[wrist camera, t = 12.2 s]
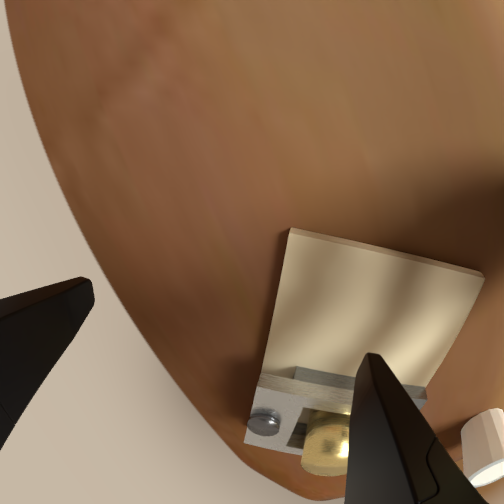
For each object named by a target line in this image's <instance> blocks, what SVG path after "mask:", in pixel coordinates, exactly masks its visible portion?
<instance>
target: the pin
mask: <svg viewBox="0 0 504 504" xmlns="http://www.w3.org/2000/svg"><path fill="white" fill-rule="evenodd" d="M349 422H350V415H347V414H340V413H334V412H328V411H322V410H317V409H311V408H310V411H309V418H308V424H307V431H306V437H305V443H304V449H303V455H302V460H301V466H302V468H303V469H304V470H306V471H307V472H309V473H312V474H315V475H320V476H338V475H343V474H347V464H348V444H349Z"/></svg>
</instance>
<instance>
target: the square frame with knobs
mask: <svg viewBox="0 0 504 504" xmlns="http://www.w3.org/2000/svg"><path fill="white" fill-rule="evenodd" d="M354 385H355V377H352V376H346V375H340V374H335V373H329V372H324V371H319V370H314V369H309V368H304V367H299V366H296V369H295V372H294V375H293V378H292V379H289V378H285V377H280V376H276V375H272V374H267V373H263V372H261V374H260V378H259V381H258V384H257V388H256V392H255V397H254V401H253V406H252V410H251V414H250V417H249V420H248V423H247V432H246V436H245V440H244V443H246V444H250V445H255V446H259V447H263V448H267V449H272V450H277V451H282V452H287V453H292V454H297V455H303V449H304V443H305V437H306V431H307V424H305V423H300V422H297V421H298V418H299V416H300V414H301V411H302V409H303V407H306V408H311V409H317V410H322V411H328V412H334V413H340V414H347V415H350V414H351V407H352V400H353V393H354ZM402 386H403V387H404V389H405V390H406V391H407V393H408V394H409V396H410V397H411V399H412V400H413V402H414V403H415V405H416V406H417V407H418V409H419V410H420V409H421V408H422V406H423V405H424V404H425V402H426V401H427V395H426V390H425V387H423V386H414V385H406V384H402Z"/></svg>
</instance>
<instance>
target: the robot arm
mask: <svg viewBox="0 0 504 504" xmlns="http://www.w3.org/2000/svg"><path fill="white" fill-rule="evenodd" d="M94 302H95V298H94V293H93V286H92V282H91V280H90V279H87V278H84V277H77V278H73V279H70V280H66V281H63V282H59V283H55V284H52V285H49V286H45V287H41V288H38V289H34V290H31V291H27V292H24V293H20V294H17V295H13V296H10V297H7V298H3V299H0V450H1V448H2V447H3V445H4V443H5V441H6V440H7V438H8V436H9V435H10V433H11V431H12V430H13V428H14V426H15V424H16V423H17V421H18V420H19V418H20V416H21V415H22V413H23V412H24V410H25V409H26V407H27V405H28V404H29V402H30V401H31V399H32V398H33V396H34V395H35V393H36V392H37V390H38V388H39V387H40V385H41V384H42V383H43V381H44V380H45V378H46V377H47V375H48V374H49V372H50V371H51V369H52V368H53V367H54V365H55V364H56V362H57V361H58V360H59V358H60V357H61V355H62V354H63V353H64V351H65V350H66V348H67V347H68V346H69V344H70V343H71V342H72V340H73V339H74V337H75V335H76V334H77V332H78V331H79V329H80V327H81V325H82V324H83V322H84V320H85V319H86V317H87V316H88V314H89V312H90V311H91V309H92V307H93V306H94ZM344 504H489V503H487V502H486V501H485V500H484V499H483V497H482V496H481V495H480V494H479V493H478V491H477V490H476V489H475V487H474V486H473V485H472V484H471V482H470V481H469V480H468V479H467V477H466V476H465V475H464V474H463V472H462V471H461V470H460V468H459V467H458V466H457V465H456V463H455V462H454V461H453V459H452V458H451V457H450V455H449V454H448V452H447V451H446V449H445V448H444V446H443V445H442V443H441V442H440V440H439V439H438V437H436V434H435V433H434V431H433V430H432V428H431V427H430V425H429V424H428V422H427V421H426V419H425V418H424V416H423V415H422V413H421V412H420V410H419V409H418V407H417V406H416V405H415V403H414V402H413V400H412V399H411V397H410V396H409V394H408V393H407V391H406V390H405V389H404V387H403V386H402V384H401V383H400V381H399V380H398V379H397V377H396V376H395V374H394V373H393V371H392V370H391V369H390V367H389V366H388V364H387V363H386V362H385V360H384V359H383V357H382V356H381V355H380V354H377V353H371V352H368V353H366V354H365V356H364V358H363V360H362V362H361V364H360V366H359V368H358V371H357V373H356V377H355V385H354V393H353V400H352V407H351V414H350V422H349V444H348V464H347V479H346V491H345V502H344Z"/></svg>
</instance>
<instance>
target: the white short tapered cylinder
mask: <svg viewBox="0 0 504 504" xmlns="http://www.w3.org/2000/svg"><path fill="white" fill-rule="evenodd" d="M461 440H462V452H463V465H464V466H463V468H464V475H465V476H466V477H467V479H468V480H469V481H470V482H471V484H472V485H473V486H474V487H475V488H476V487H480V486H484V485H487V484H490V483H492V482H495V481H497V480H499V479H500V478H502V477H504V412H503V410H502V409H498V408H495V409H489V410H486V411H484V412H481V413H479V414H478V415H476V416H474V417H473V418H471V419H470V420H469V421H468V422H467V423H466V424H465V425H464V426H463V428H462V429H461Z"/></svg>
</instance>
